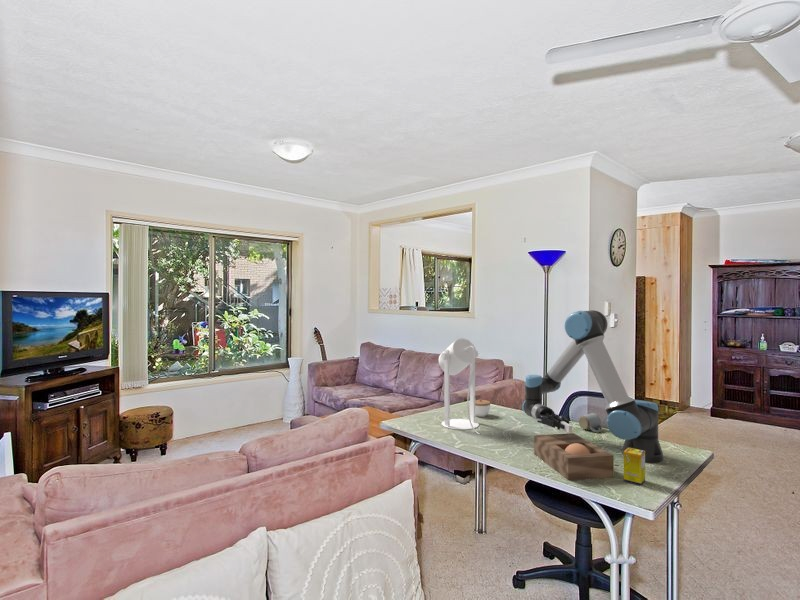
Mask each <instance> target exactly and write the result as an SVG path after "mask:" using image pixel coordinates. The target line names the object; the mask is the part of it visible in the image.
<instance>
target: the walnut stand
mask: <svg viewBox="0 0 800 600" xmlns="http://www.w3.org/2000/svg"><path fill="white" fill-rule="evenodd" d="M533 439H534V440H533V447H534V448H533V453H534V456H536V457H537V456H538V457H537V458H539V459H540V460H541V459H542V460H543V461H542V460H541V461H542V462H544V463H545V464H546V463H547V464H546V465H548V466H549V467H551V469H553V470H554V471H556V472H557V473H558V474H559V473H560V474H559V475H561V476H562V477H563V478H564V479H566V480H567V481H574V480H575V481H576V480H588V479H603V478H614V476H615V475H614V471H615V470H614V469H615V468H614V461H615V460H614V457H615V456H614V455H613V454H611V453H610V452H608V451H606V450H604V449H603V448H601V447H600V446H597V445H596V444H595V443H592V442H591V441H589V440H587V439H585V438H583V437H582V436H580V435H578V434H576V433H574V432H572V433H568V432H567V433H553V434H535V435H534V436H533ZM574 443H578V444H582V445H584V446H585V447H586V448H587V449H588V450H589V451H590V454H579V455H571V454H569V453H568V452H566V451H565V449H566V448H567V447H568V446H569V445H571V444H574Z"/></svg>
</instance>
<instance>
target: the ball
mask: <svg viewBox="0 0 800 600" xmlns="http://www.w3.org/2000/svg"><path fill="white" fill-rule="evenodd" d="M565 451H566V452H568V453H569V454H571V455H579V454H590V451H589V450H588V449H587V448H586V447H585V446H584V445H582V444H578V443H574V444H571V445H569V446H568V447H567V448H566V449H565Z"/></svg>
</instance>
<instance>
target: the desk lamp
mask: <svg viewBox="0 0 800 600" xmlns="http://www.w3.org/2000/svg"><path fill="white" fill-rule="evenodd" d="M478 357H479V351H478V350H477V349H476V347H475V345H474V344H473V343H472V342H471V341H470V340H468V339H466V338H462V337H461V338H457V339H455V340H454V341H453V342H452V343H451V344H450V345H449V346H448V347H447V348H445V349H444V351H442V352H441V353H440V354H439V356H438V366H439V368H440V370H441V371H442V372H443V373H444V374H443V375H444V376H443V377H444V383H443V384H444V385H443V386H444V389H443V391H444V394H443V395H444V400H443V401H444V420H442V422H441V426H442V427H444V428H446V429H450V430H457V431H465V430H467V431H468V430H469V431H470V430H473V431H474V432H475V433H476V434H478V435H481V433H480V432H478V431H477V430H476V428H478V427H479V426H480V424H479V423H478V421H476V416H475V400H476V359H477V358H478ZM468 366H469V377H468V378H467V379H468V380H467V381H468V384H467V387H468V390H467V398H466V401H467V403H466V404H467V405H466V408H467V415H468V418H451V416H450V413H451V409H450V408H451V407H450V405H451V403H450V400H451V399H450V398H451V396H450V395H451V391H450V388H451V387H450V383H451V382H450V376H456V375H459V374H460V373H461V372H462V371H463V370H465V369H466V368H467V367H468Z"/></svg>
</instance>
